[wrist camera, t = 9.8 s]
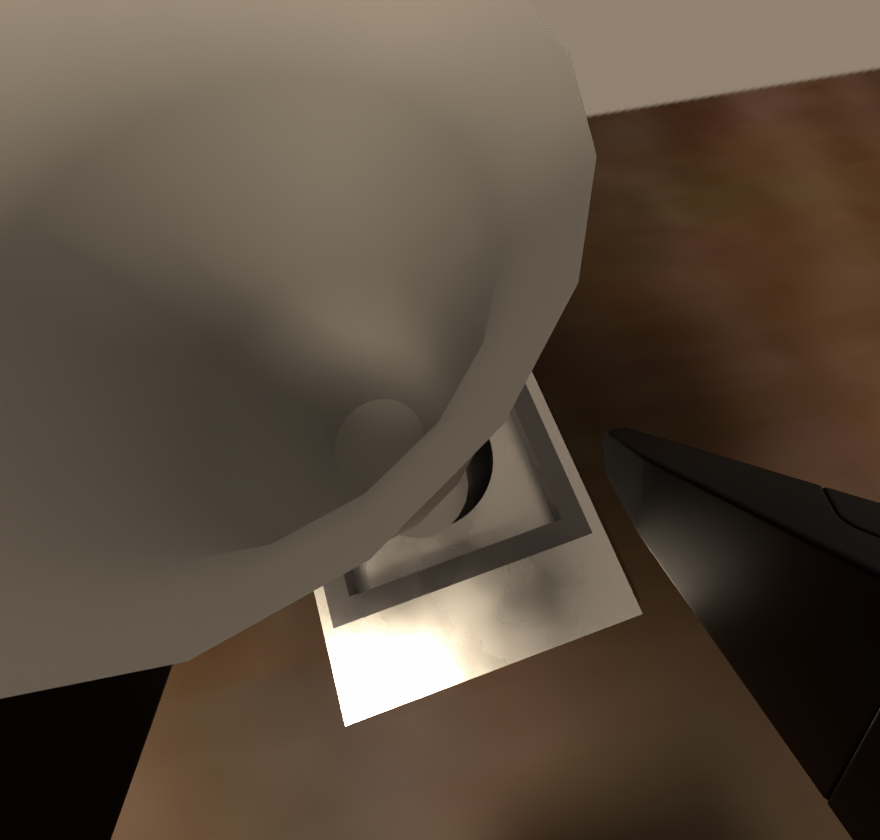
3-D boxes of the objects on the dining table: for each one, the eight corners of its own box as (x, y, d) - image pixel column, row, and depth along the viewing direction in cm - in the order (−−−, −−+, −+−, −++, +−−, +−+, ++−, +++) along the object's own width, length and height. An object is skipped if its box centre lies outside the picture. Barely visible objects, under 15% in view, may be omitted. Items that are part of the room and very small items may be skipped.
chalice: (409, 393, 22) (195, -153, 5) (515, 466, 20) (771, 59, 3) (320, 503, 21) (-448, 303, 3) (426, 592, 19) (28, 1076, 2)
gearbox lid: (635, 611, 19) (657, 620, 17) (350, 718, 18) (334, 742, 16) (482, 272, 25) (483, 245, 23) (262, 346, 24) (242, 327, 22)
